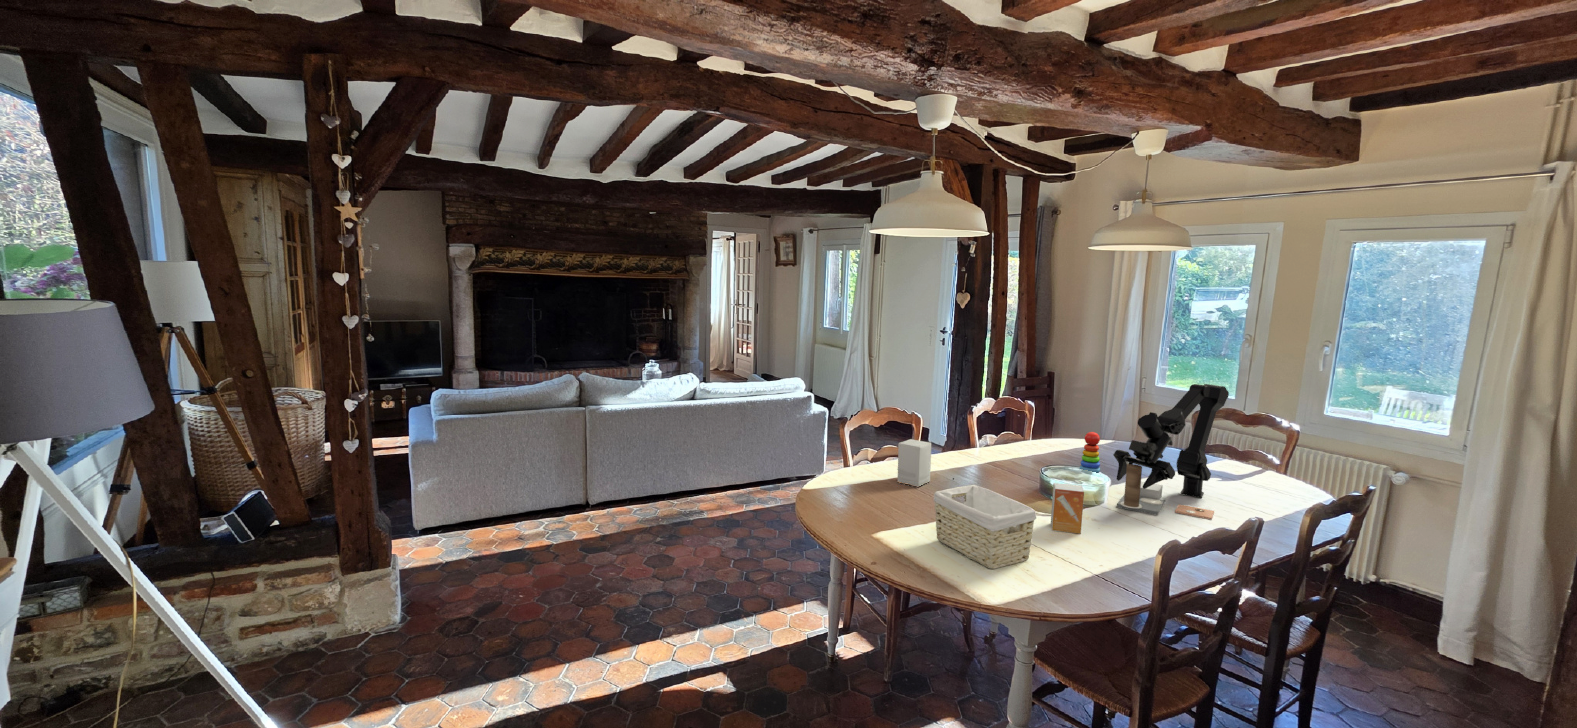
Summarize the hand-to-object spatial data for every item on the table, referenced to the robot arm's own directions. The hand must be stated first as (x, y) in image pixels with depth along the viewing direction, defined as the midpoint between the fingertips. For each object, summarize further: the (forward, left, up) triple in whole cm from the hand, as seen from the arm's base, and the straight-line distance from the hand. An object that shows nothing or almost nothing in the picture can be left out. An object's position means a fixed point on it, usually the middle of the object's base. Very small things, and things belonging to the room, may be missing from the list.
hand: (1130, 483), depth 215 cm
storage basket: (+62, -25, -9) cm, 68 cm away
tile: (-10, +18, -9) cm, 22 cm away
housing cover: (-18, +3, -9) cm, 20 cm away
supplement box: (+19, -67, -9) cm, 71 cm away
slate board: (-6, +3, -9) cm, 11 cm away
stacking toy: (-23, -17, -9) cm, 30 cm away
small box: (+31, -11, -9) cm, 34 cm away
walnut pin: (-1, +1, -7) cm, 7 cm away
